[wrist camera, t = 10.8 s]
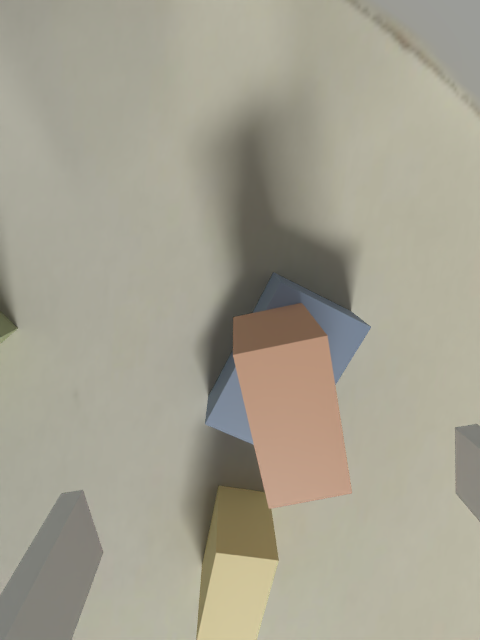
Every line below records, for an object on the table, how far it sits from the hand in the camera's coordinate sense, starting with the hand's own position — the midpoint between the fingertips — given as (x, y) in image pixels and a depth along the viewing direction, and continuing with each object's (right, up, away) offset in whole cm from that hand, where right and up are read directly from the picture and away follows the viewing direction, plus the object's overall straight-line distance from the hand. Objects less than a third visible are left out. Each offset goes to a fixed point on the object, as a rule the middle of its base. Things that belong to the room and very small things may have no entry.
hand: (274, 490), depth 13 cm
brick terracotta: (+1, +3, +9) cm, 10 cm away
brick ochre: (-2, -11, +17) cm, 20 cm away
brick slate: (+1, +4, +13) cm, 14 cm away
